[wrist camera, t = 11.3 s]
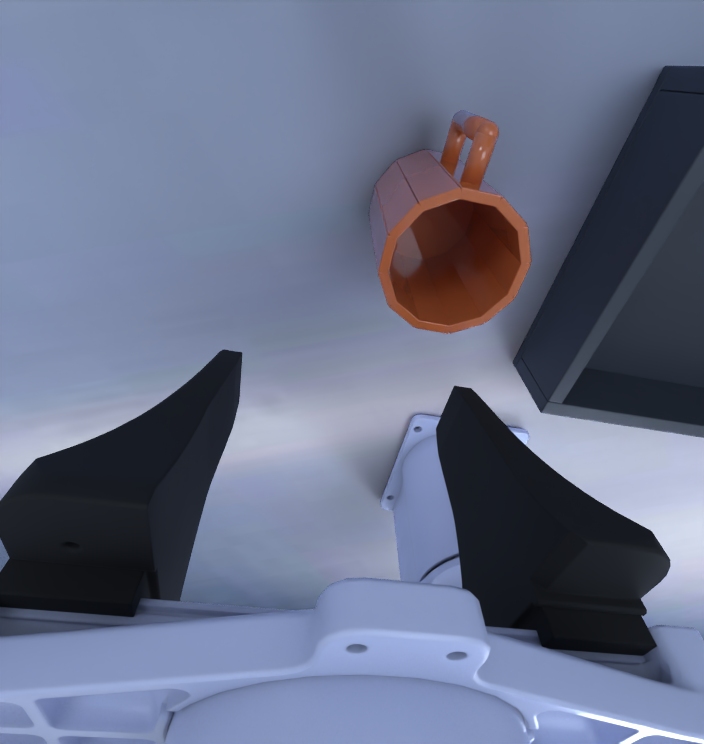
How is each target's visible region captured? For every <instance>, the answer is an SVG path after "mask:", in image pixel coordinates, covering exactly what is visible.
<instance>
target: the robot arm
mask: <svg viewBox="0 0 704 744" xmlns="http://www.w3.org/2000/svg"><path fill="white" fill-rule="evenodd" d="M241 366H242V352H235V351H229V350H222V351H220V352H219V353H218V354H217V355H216V356H215V357H214V358H213V359H212V360H211V361H210V362H209V363H208V364H207V365H206V366H205V367H204V368H203V369H202V370H201V371H200V372H198V373H197V374H196V375H195V376H194V377H193V378H192V379H190V380H189V381H188V382H187V383H186V384H185V385H183V386H182V387H181V388H179V389H178V390H177V391H176V392H174V393H173V394H172V395H170V396H169V397H168V398H166V399H165V400H163V401H162V402H161V403H159V404H158V405H156V406H155V407H153V408H152V409H150V410H148V411H147V412H145V413H144V414H142V415H140V416H138V417H137V418H135V419H133V420H131V421H129V422H127V423H125V424H123V425H121V426H119V427H118V428H116V429H114V430H111V431H109V432H107V433H105V434H103V435H100V436H98V437H96V438H93V439H91V440H88V441H86V442H83V443H81V444H78V445H76V446H73V447H70V448H67V449H64V450H61V451H58V452H55V453H52V454H49V455H46V456H43V457H40V458H37V459H35V461H34V462H33V463H32V464H31V465H30V466H29V467H28V468H27V469H26V470H25V471H24V472H23V473H22V474H21V476H20V477H19V478H18V479H17V480H16V482H15V483H14V484H13V485H12V487H11V488H10V489H9V491H8V492H7V493H6V494H5V496H4V497H3V498H2V500H1V501H0V538H1V540H2V543H3V545H4V547H5V549H6V551H7V553H8V555H9V557H10V559H9V560H8V562H7V563H6V564H5V566H4V567H3V569H2V570H1V572H0V744H704V640H703V638H702V637H701V635H700V633H699V632H698V630H697V629H694V628H689V627H678V626H666V625H656V626H652V627H649V628H647V626H646V624H645V622H644V620H643V618H642V617H641V615H642V616H644V615H645V614H646V611H647V610H646V608H645V606H644V604H643V602H642V601H641V598H642V597H643V596H644V595H645V594H647V593H648V592H649V591H650V590H651V589H652V588H654V587H655V586H656V585H657V584H658V583H660V582H661V581H662V580H663V578H664V577H665V576H666V575H667V573H668V571H669V568H670V559H669V557H668V556H667V554H666V553H665V551H664V549H663V548H662V546H661V545H660V543H659V542H658V540H657V539H656V537H655V536H654V534H653V532H652V531H650V530H649V529H647V528H645V527H643V526H641V525H639V524H637V523H635V522H634V521H632V520H630V519H628V518H626V517H624V516H622V515H621V514H619V513H617V512H615V511H613V510H612V509H610V508H609V507H607V506H605V505H604V504H602V503H600V502H599V501H597V500H595V499H594V498H592V497H591V496H589V495H588V494H586V493H585V492H583V491H582V490H580V489H579V488H578V487H576V486H575V485H573V484H572V483H571V482H569V481H568V480H566V479H565V478H564V477H562V476H561V475H560V474H558V473H557V472H556V471H555V470H553V469H552V468H551V467H550V466H549V465H547V464H546V463H545V462H544V461H542V460H541V459H540V458H539V457H538V456H537V455H536V454H534V453H533V452H532V451H531V450H530V449H529V448H528V447H527V446H526V445H525V444H526V443H527V441H528V440H529V437H530V436H529V433H528V432H527V431H526V430H524V429H518V428H511V427H507V426H506V425H505V424H504V423H503V422H502V421H501V420H500V419H499V418H498V417H497V415H496V414H495V413H494V412H493V411H492V410H491V409H490V408H489V407H488V406H487V404H486V403H485V402H484V401H483V400H482V399H481V398H480V397H479V396H478V395H477V394H476V393H475V392H474V391H473V390H472V389H471V388H465V387H459V386H454V388H453V390H452V392H451V395H450V397H449V399H448V402H447V404H446V406H445V409H444V411H443V413H442V415H441V417H436V416H429V415H422V414H418V415H415V416H414V417H413V418H412V420H411V423H410V425H409V428H408V430H407V433H406V436H405V438H404V441H403V444H402V446H401V449H400V451H399V454H398V457H397V459H396V462H395V465H394V467H393V470H392V472H391V475H390V478H389V480H388V483H387V486H386V488H385V491H384V493H383V496H382V499H381V501H380V505H381V508H382V509H385V510H392V511H393V513H394V523H395V532H396V541H397V550H398V559H399V569H400V578H401V581H397V580H386V579H375V578H346V579H344V580H341V581H338V582H336V583H333V584H331V585H329V586H328V587H327V588H326V589H325V590H324V592H323V593H322V594H321V595H320V596H319V598H318V601H317V605H316V608H315V609H306V610H294V611H292V610H280V609H267V608H255V607H243V606H231V605H218V604H206V603H194V602H182V601H180V597H181V593H182V589H183V585H184V580H185V577H186V573H187V569H188V565H189V561H190V557H191V553H192V549H193V545H194V541H195V537H196V533H197V530H198V526H199V522H200V518H201V515H202V511H203V507H204V504H205V500H206V496H207V493H208V490H209V487H210V484H211V481H212V479H213V476H214V474H215V471H216V469H217V466H218V464H219V461H220V459H221V456H222V453H223V451H224V448H225V446H226V443H227V441H228V438H229V435H230V433H231V430H232V428H233V424H234V420H235V416H236V412H237V408H238V404H239V397H240V381H241ZM415 427H419V428H415Z"/></svg>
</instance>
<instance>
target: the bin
mask: <svg viewBox="0 0 704 744" xmlns="http://www.w3.org/2000/svg"><path fill="white" fill-rule="evenodd" d="M513 364H514V366H515V367H516V369H517V371H518V373H519V375H520V376H521V378H522V380H523V382H524V384H525V385H526V387H527V389H528V391H529V393H530V394H531V396H532V398H533V400H534V401H535V403H536V405H537V407H538V409H539V410H540V412H541V413H545V414H552V415H558V416H565V417H571V418H578V419H584V420H591V421H597V422H604V423H611V424H617V425H624V426H630V427H637V428H643V429H650V430H657V431H663V432H670V433H676V434H683V435H689V436H696V437H702V438H704V66H665V67H664V69H663V70H662V72H661V74H660V76H659V78H658V80H657V82H656V84H655V86H654V88H653V90H652V92H651V94H650V96H649V98H648V100H647V102H646V104H645V106H644V108H643V109H642V111H641V113H640V115H639V117H638V119H637V121H636V123H635V125H634V127H633V129H632V131H631V133H630V135H629V137H628V139H627V141H626V143H625V145H624V147H623V149H622V150H621V152H620V154H619V156H618V158H617V160H616V162H615V164H614V166H613V168H612V170H611V172H610V174H609V176H608V178H607V180H606V182H605V184H604V186H603V188H602V190H601V191H600V193H599V195H598V197H597V199H596V201H595V203H594V205H593V207H592V209H591V211H590V213H589V215H588V217H587V219H586V221H585V223H584V225H583V227H582V229H581V230H580V232H579V234H578V236H577V238H576V240H575V242H574V244H573V246H572V248H571V250H570V252H569V254H568V256H567V258H566V260H565V262H564V264H563V266H562V268H561V270H560V271H559V273H558V275H557V277H556V279H555V281H554V283H553V285H552V287H551V289H550V291H549V293H548V295H547V297H546V299H545V301H544V303H543V305H542V307H541V309H540V310H539V312H538V314H537V316H536V318H535V320H534V322H533V324H532V326H531V328H530V330H529V332H528V334H527V336H526V338H525V340H524V342H523V344H522V346H521V348H520V350H519V351H518V353H517V355H516V357H515V359H514V361H513Z"/></svg>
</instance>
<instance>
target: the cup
mask: <svg viewBox="0 0 704 744" xmlns="http://www.w3.org/2000/svg"><path fill="white" fill-rule="evenodd" d="M498 135H499V128H498V126H497V124H496V123H494V122H492V121H490V120H488V119H485V118H483V117H480V116H478V115H475V114H473V113H470V112H468V111H465V110H460V111H458V112H457V113H456V114H455V115H454V116H453V119H452V122H451V126H450V129H449V133H448V136H447V139H446V143H445V146H444V150H443V153H441V152H437V151H433V150H428V149H426V150H425V149H424V150H421V151H419V152H416V153H413V154H410V155H408V156H405V157H402V158H399V159H397V161H394V163H393V164H392V165H391V166H390V167H389V168H388V170H387V171H386V172H385V173H384V174H383V175H382V177H381V178H380V179H379V180H378V181H377V182H376V185H375V186H374V191H373V196H372V200H371V205H370V209H369V220H370V226H371V232H372V239H373V245H374V251H375V257H376V264H377V270H378V275H379V279H380V282H381V285H382V288H383V291H384V294H385V297H386V301H387V304H388V306H389V307H390V308H391V309H392V310H393V311H395V312H396V313H397V314H398V315H399V316H401V317H402V318H403V319H404V320H406V321H407V322H408V323H409V324H410V325H412V326H413V327H415V328H418V329H424V330H430V331H436V332H441V333H447V334H448V333H454V332H457V331H461V330H464V329H468V328H471V327H475V326H478V325H482V324H484V322H485V323H486V322H487V321H489V320H490V319H491V318H492V317H493V316H495V315H496V314H497V313H498V312H499V311H501V310H502V309H503V308H504V307H505V306H507V305H508V304H509V303H510V302H511V301H513V300H514V298H515V297H516V295H517V293H518V291H519V289H520V286H521V284H522V282H523V280H524V278H525V276H526V274H527V271H528V269H529V267H530V265H531V264H530V263H531V253H530V242H529V231H528V226H527V223H526V222H525V221H524V220H523V219H522V217H521V216H520V215H519V214H518V213H517V212H516V211H515V210H514V208H513V207H512V206H511V205H510V204H509V203H508V202H507V200H506V199H505V198H504V197H503V196H502V195H501V194H499V193H498V192H497V191H496V190H495V189H493V188H492V187H491V186H490V185H489V184H488V183H486V182H485V181H484V180H483V178H484V175H485V172H486V169H487V167H488V164H489V161H490V158H491V155H492V153H493V150H494V147H495V144H496V141H497V139H498ZM466 137H468V138H470V139H471V140H473V142H472V145H471V148H470V152H469V155H468V158H467V161H466V164H464V163H463V162H462V161H461V160H459V158H460V155H461V152H462V149H463V145H464V142H465V139H466Z"/></svg>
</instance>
